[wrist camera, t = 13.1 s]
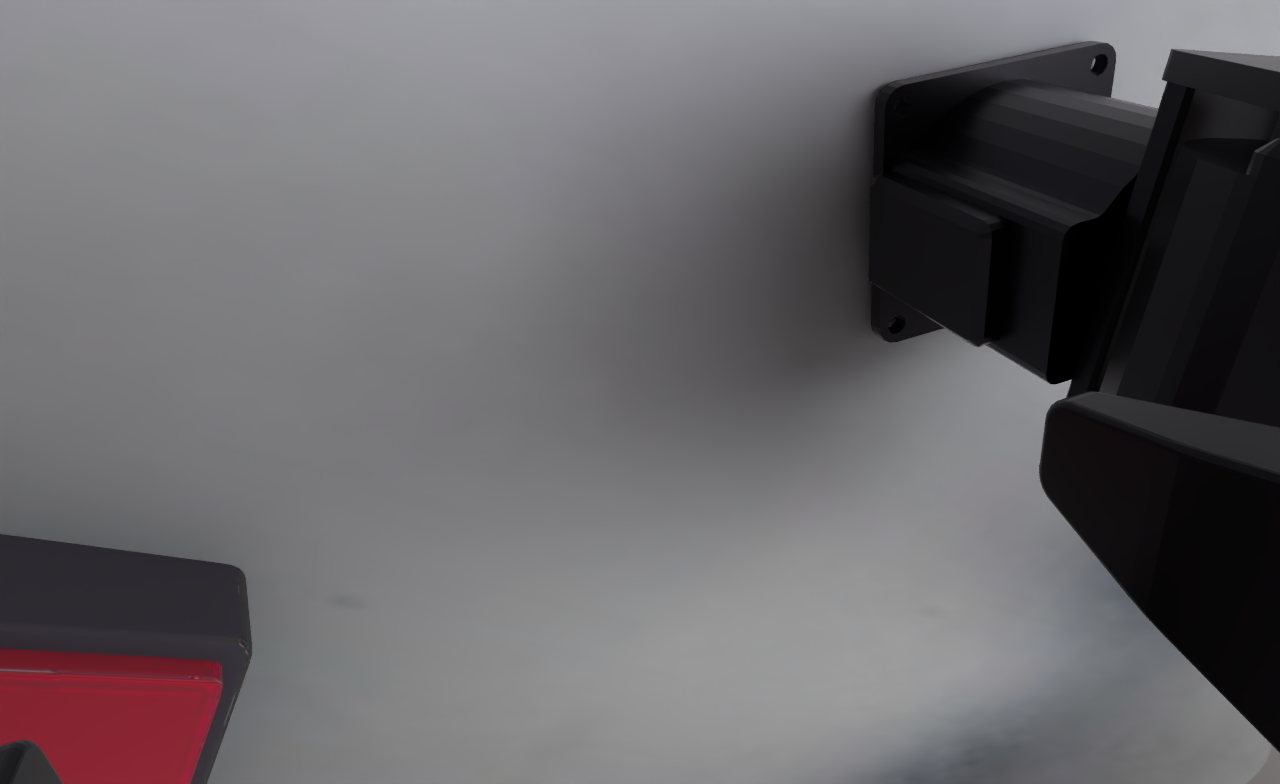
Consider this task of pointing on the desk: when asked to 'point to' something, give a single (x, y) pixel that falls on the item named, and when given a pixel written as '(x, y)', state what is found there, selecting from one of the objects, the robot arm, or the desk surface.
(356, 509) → the desk surface
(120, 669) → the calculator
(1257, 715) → the robot arm
